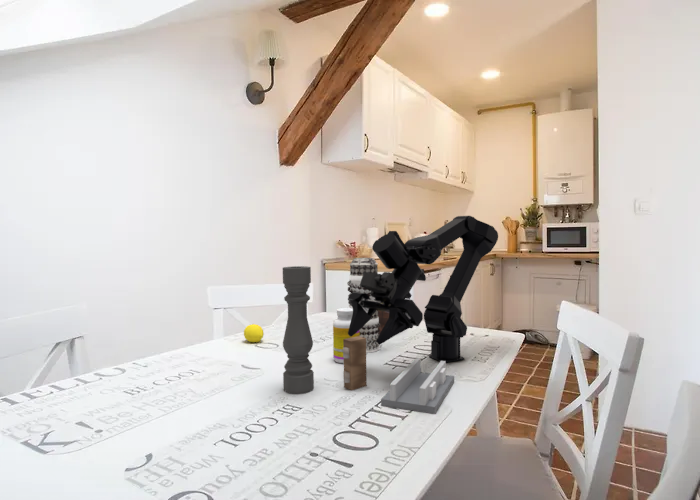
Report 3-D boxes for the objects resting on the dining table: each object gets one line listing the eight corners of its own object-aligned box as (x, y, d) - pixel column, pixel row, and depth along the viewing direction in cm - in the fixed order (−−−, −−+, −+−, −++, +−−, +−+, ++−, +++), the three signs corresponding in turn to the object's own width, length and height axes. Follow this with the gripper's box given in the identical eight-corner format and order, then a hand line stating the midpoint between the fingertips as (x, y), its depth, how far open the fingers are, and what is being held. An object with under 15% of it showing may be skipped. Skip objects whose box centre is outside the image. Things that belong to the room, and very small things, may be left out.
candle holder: (318, 385, 92) (316, 266, 91) (306, 395, 86) (303, 268, 85) (291, 382, 94) (289, 266, 93) (278, 392, 88) (275, 268, 87)
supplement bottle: (357, 365, 106) (356, 312, 106) (330, 363, 107) (329, 311, 107) (362, 357, 113) (361, 307, 112) (336, 356, 114) (336, 307, 113)
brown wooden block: (358, 382, 93) (358, 336, 93) (366, 385, 91) (365, 338, 91) (340, 388, 90) (339, 339, 90) (348, 391, 88) (347, 342, 88)
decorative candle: (379, 344, 126) (378, 256, 125) (383, 352, 116) (382, 258, 116) (347, 344, 125) (346, 257, 125) (348, 353, 116) (347, 259, 115)
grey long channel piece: (408, 376, 97) (408, 357, 97) (454, 381, 93) (454, 362, 93) (381, 405, 81) (380, 382, 81) (435, 413, 77) (434, 390, 77)
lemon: (267, 343, 131) (269, 325, 130) (254, 347, 126) (256, 328, 126) (250, 337, 135) (252, 320, 134) (237, 340, 130) (238, 323, 130)
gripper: (353, 257, 102) (315, 309, 96) (413, 260, 88) (372, 322, 81) (378, 288, 108) (343, 339, 101) (438, 295, 93) (402, 356, 86)
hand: (363, 339), depth 92 cm, fingers open, 9 cm apart
